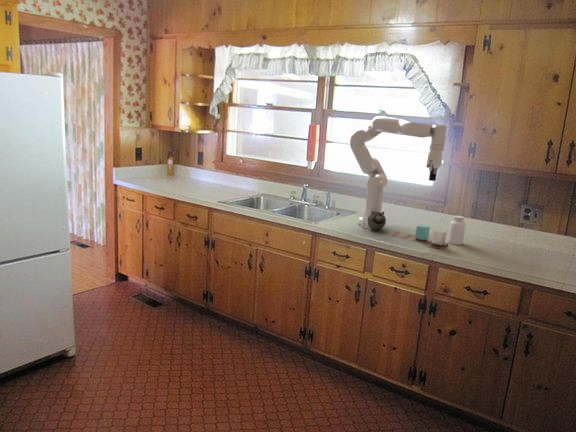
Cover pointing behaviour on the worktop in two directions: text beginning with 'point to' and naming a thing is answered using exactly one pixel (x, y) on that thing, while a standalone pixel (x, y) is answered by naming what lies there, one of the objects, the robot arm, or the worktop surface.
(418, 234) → the matte teal square block
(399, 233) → the board
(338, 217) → the worktop surface
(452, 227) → the pill bottle
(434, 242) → the pale wooden cube
